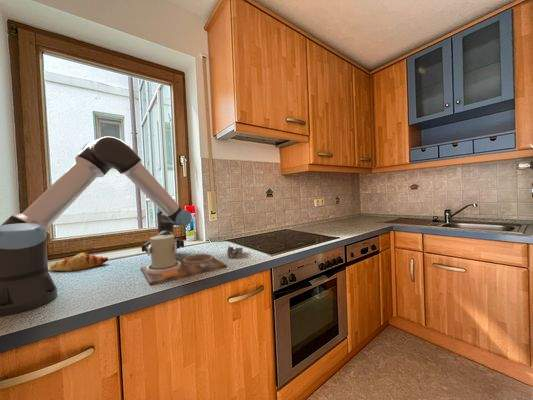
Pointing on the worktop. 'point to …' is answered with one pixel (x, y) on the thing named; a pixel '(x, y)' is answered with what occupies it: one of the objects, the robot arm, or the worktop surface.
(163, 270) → the ring
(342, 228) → the worktop surface
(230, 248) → the egg carton
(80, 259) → the croissant
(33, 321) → the worktop surface
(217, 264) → the walnut board
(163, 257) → the can
